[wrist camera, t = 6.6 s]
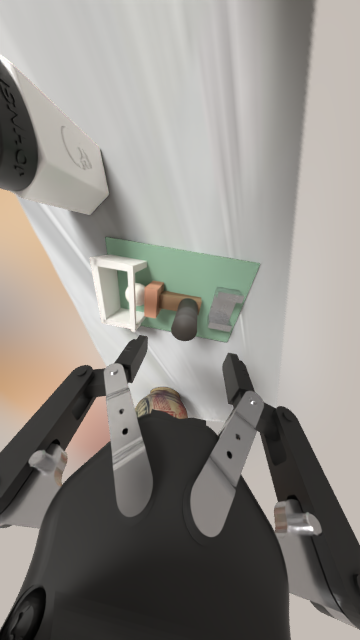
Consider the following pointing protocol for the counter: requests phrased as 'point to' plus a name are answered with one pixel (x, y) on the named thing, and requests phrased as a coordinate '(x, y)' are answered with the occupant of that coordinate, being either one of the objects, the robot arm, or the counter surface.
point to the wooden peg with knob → (173, 309)
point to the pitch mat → (184, 280)
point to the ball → (137, 294)
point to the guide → (223, 308)
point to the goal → (116, 290)
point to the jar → (45, 149)
